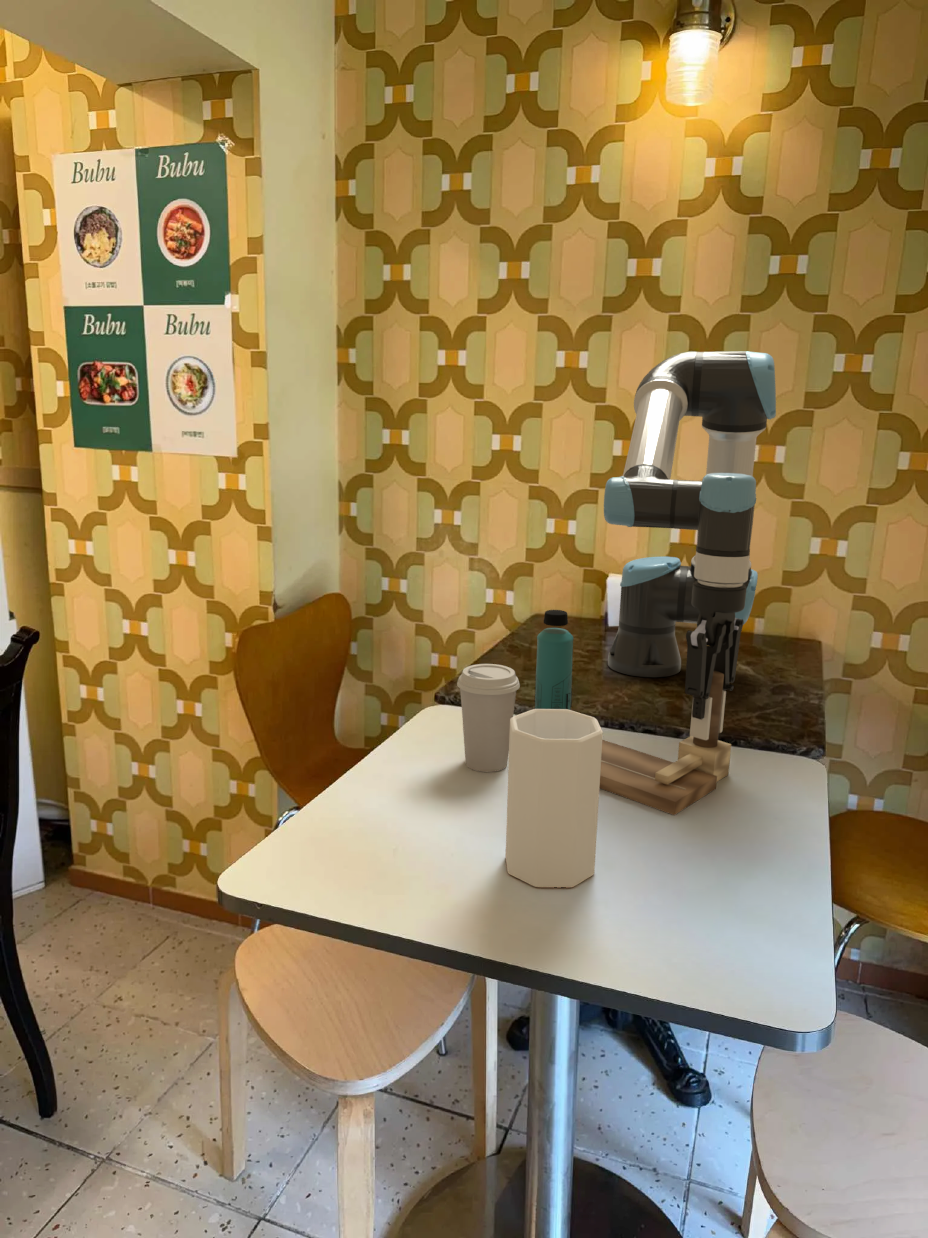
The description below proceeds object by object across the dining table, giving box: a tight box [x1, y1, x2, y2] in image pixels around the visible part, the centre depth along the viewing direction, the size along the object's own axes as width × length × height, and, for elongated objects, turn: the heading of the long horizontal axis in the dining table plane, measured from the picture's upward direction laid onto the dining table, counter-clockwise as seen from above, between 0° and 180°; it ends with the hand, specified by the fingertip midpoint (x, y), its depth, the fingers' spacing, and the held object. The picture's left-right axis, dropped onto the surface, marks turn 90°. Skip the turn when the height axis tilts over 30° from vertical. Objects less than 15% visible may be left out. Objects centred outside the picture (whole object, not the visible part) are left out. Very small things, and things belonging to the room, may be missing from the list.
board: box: [599, 739, 718, 816], centre depth 136 cm, size 12×26×2 cm, turn 47°
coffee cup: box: [456, 663, 521, 773], centre depth 138 cm, size 10×10×15 cm
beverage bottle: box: [533, 609, 574, 710], centre depth 156 cm, size 6×7×20 cm
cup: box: [505, 708, 604, 889], centre depth 108 cm, size 11×11×18 cm
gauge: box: [655, 671, 732, 785], centre depth 132 cm, size 15×6×16 cm, turn 137°
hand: (706, 733), depth 136 cm, fingers closed on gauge, 4 cm apart
